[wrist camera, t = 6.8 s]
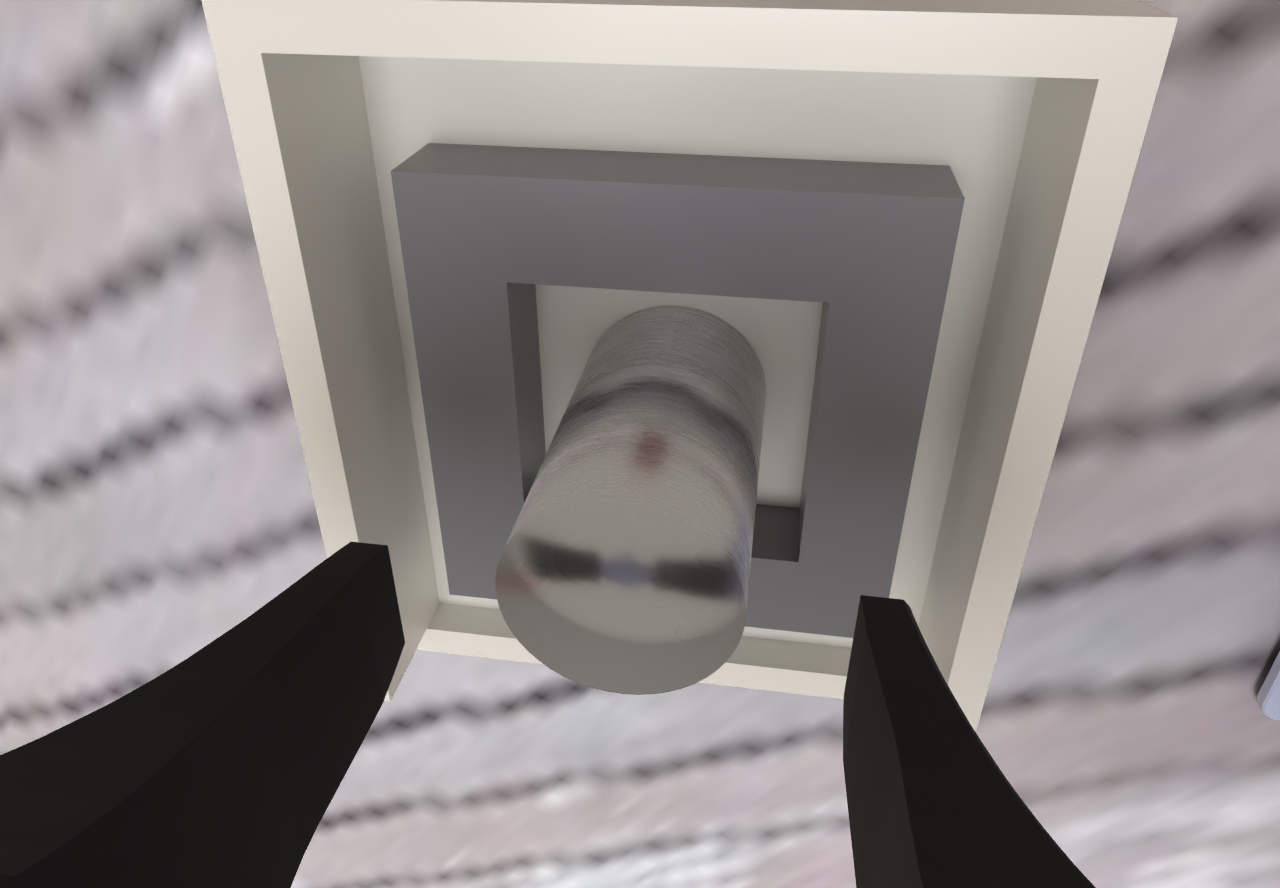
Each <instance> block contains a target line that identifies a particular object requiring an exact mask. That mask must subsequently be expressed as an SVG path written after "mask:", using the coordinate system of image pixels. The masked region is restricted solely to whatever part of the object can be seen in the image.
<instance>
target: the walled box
mask: <svg viewBox="0 0 1280 888" xmlns="http://www.w3.org/2000/svg"><path fill="white" fill-rule="evenodd" d="M202 5H203V9H204V13H205V18H206V22H207V27H208V31H209V36H210V40H211V44H212V49H213V53H214V58H215V62H216V67H217V71H218V76H219V80H220V84H221V89H222V93H223V98H224V102H225V107H226V111H227V116H228V120H229V124H230V129H231V133H232V138H233V142H234V147H235V151H236V156H237V160H238V164H239V169H240V173H241V178H242V182H243V187H244V191H245V196H246V200H247V204H248V209H249V213H250V218H251V222H252V227H253V231H254V236H255V240H256V244H257V249H258V253H259V258H260V262H261V267H262V271H263V276H264V280H265V284H266V289H267V293H268V298H269V302H270V307H271V311H272V316H273V320H274V324H275V329H276V333H277V338H278V342H279V347H280V351H281V356H282V360H283V364H284V369H285V373H286V378H287V382H288V387H289V391H290V395H291V400H292V404H293V409H294V413H295V418H296V422H297V427H298V431H299V435H300V440H301V444H302V449H303V453H304V458H305V462H306V467H307V471H308V475H309V480H310V484H311V489H312V493H313V498H314V502H315V507H316V511H317V515H318V520H319V524H320V529H321V533H322V538H323V542H324V547H325V551H326V555H327V558H329V557H330V556H331V555H333V554H334V553H335V552H337V551H338V550H339V549H341V548H342V547H344V546H345V545H347V544H348V543H350V542H360V543H370V544H379V545H388V549H389V555H390V560H391V566H392V571H393V577H394V583H395V588H396V594H397V599H398V605H399V611H400V616H401V622H402V627H403V633H404V639H405V645H404V648H403V651H402V653H401V656H400V659H399V662H398V665H397V667H396V670H395V673H394V676H393V678H392V681H391V684H390V686H389V689H388V691H387V694H386V696H385V699H384V701H391V699H392V697H393V695H394V693H395V691H396V689H397V687H398V685H399V683H400V681H401V679H402V677H403V675H404V673H405V671H406V669H407V667H408V665H409V663H410V661H411V659H412V657H413V655H414V653H415V651H416V650H425V651H433V652H442V653H451V654H459V655H468V656H476V657H485V658H494V659H502V660H511V661H519V662H528V663H536V664H543V663H541V662H540V661H539V660H537V659H536V658H535V657H534V656H533V655H532V654H530V653H529V652H528V651H527V650H526V649H525V648H524V647H523V646H522V645H521V643H520V642H519V641H518V640H517V639H516V637H515V636H514V635H513V633H512V632H511V631H510V629H509V627H508V625H507V624H506V622H505V620H504V618H503V616H502V613H501V611H500V608H499V605H498V600H497V596H496V586H495V579H496V570H497V566H498V563H499V559H500V557H501V554H502V552H503V550H504V548H505V545H506V543H507V541H508V539H509V536H510V534H511V532H512V530H513V527H514V525H515V523H516V521H517V518H518V516H519V514H520V512H521V509H522V507H523V505H524V503H525V500H526V498H527V496H528V494H529V491H530V489H531V487H532V485H533V482H534V480H535V478H536V476H537V473H538V471H539V469H540V467H541V464H542V462H543V460H544V458H545V455H546V453H547V451H548V449H549V446H550V444H551V442H552V440H553V437H554V435H555V433H556V431H557V428H558V426H559V424H560V422H561V419H562V417H563V415H564V413H565V410H566V408H567V406H568V404H569V401H570V399H571V397H572V395H573V392H574V390H575V388H576V386H577V383H578V381H579V379H580V377H581V374H582V372H583V370H584V368H585V365H586V363H587V361H588V359H589V356H590V354H591V352H592V350H593V348H594V346H595V344H596V343H597V341H598V340H599V339H600V337H601V336H602V335H603V334H604V333H605V332H606V331H607V329H608V328H610V327H611V326H612V325H613V324H615V323H616V322H617V321H619V320H621V319H622V318H624V317H626V316H627V315H630V314H632V313H634V312H637V311H640V310H643V309H647V308H652V307H658V306H681V307H688V308H693V309H697V310H700V311H703V312H706V313H709V314H711V315H713V316H715V317H717V318H719V319H721V320H723V321H724V322H726V323H727V324H729V325H730V326H732V327H733V328H734V329H735V330H737V331H738V332H739V333H740V334H741V335H742V336H743V337H744V338H745V339H746V340H747V342H748V343H749V344H750V346H751V347H752V348H753V350H754V351H755V353H756V355H757V357H758V359H759V361H760V363H761V366H762V369H763V372H764V377H765V382H766V401H765V412H764V423H763V434H762V445H761V456H760V467H759V478H758V489H757V500H756V511H755V522H754V533H753V544H752V555H751V566H750V577H749V588H748V599H747V610H746V619H745V627H744V631H743V634H742V637H741V640H740V642H739V644H738V646H737V648H736V650H735V651H734V653H733V654H732V655H731V657H730V658H729V659H728V660H727V661H726V662H725V663H724V664H723V665H722V666H721V667H720V668H719V669H718V670H717V671H715V672H714V673H712V674H711V675H710V676H708V677H707V678H705V679H703V680H701V681H699V683H708V684H716V685H725V686H734V687H742V688H751V689H759V690H768V691H776V692H785V693H794V694H802V695H811V696H819V697H828V698H836V699H844V691H845V685H846V679H847V673H848V667H849V661H850V655H851V649H852V643H853V637H854V631H855V625H856V619H857V613H858V607H859V601H860V595H864V596H874V597H883V598H893V599H902V600H904V601H905V602H906V603H907V604H908V605H909V606H910V608H911V610H912V613H913V615H914V618H915V620H916V622H917V625H918V627H919V629H920V631H921V634H922V636H923V638H924V640H925V642H926V644H927V646H928V648H929V650H930V652H931V654H932V656H933V658H934V660H935V662H936V664H937V666H938V668H939V670H940V672H941V674H942V676H943V677H944V679H945V681H946V683H947V685H948V687H949V688H950V690H951V692H952V693H953V695H954V697H955V699H956V700H957V702H958V704H959V705H960V707H961V709H962V711H963V712H964V714H965V716H966V718H967V719H968V721H969V723H970V724H971V726H972V727H973V729H974V731H975V732H976V730H977V726H978V722H979V719H980V715H981V712H982V708H983V705H984V701H985V698H986V694H987V691H988V687H989V684H990V680H991V677H992V673H993V670H994V666H995V662H996V659H997V655H998V652H999V648H1000V645H1001V641H1002V638H1003V634H1004V631H1005V627H1006V624H1007V620H1008V617H1009V613H1010V610H1011V606H1012V602H1013V599H1014V595H1015V592H1016V588H1017V585H1018V581H1019V578H1020V574H1021V571H1022V567H1023V564H1024V560H1025V557H1026V553H1027V550H1028V546H1029V542H1030V539H1031V535H1032V532H1033V528H1034V525H1035V521H1036V518H1037V514H1038V511H1039V507H1040V504H1041V500H1042V497H1043V493H1044V489H1045V486H1046V482H1047V479H1048V475H1049V472H1050V468H1051V465H1052V461H1053V458H1054V454H1055V451H1056V447H1057V444H1058V440H1059V437H1060V433H1061V429H1062V426H1063V422H1064V419H1065V415H1066V412H1067V408H1068V405H1069V401H1070V398H1071V394H1072V391H1073V387H1074V384H1075V380H1076V377H1077V373H1078V369H1079V366H1080V362H1081V359H1082V355H1083V352H1084V348H1085V345H1086V341H1087V338H1088V334H1089V331H1090V327H1091V324H1092V320H1093V317H1094V313H1095V309H1096V306H1097V302H1098V299H1099V295H1100V292H1101V288H1102V285H1103V281H1104V278H1105V274H1106V271H1107V267H1108V264H1109V260H1110V257H1111V253H1112V249H1113V246H1114V242H1115V239H1116V235H1117V232H1118V228H1119V225H1120V221H1121V218H1122V214H1123V211H1124V207H1125V204H1126V200H1127V197H1128V193H1129V189H1130V186H1131V182H1132V179H1133V175H1134V172H1135V168H1136V165H1137V161H1138V158H1139V154H1140V151H1141V147H1142V144H1143V140H1144V137H1145V133H1146V129H1147V126H1148V122H1149V119H1150V115H1151V112H1152V108H1153V105H1154V101H1155V98H1156V94H1157V91H1158V87H1159V84H1160V80H1161V77H1162V73H1163V69H1164V66H1165V62H1166V59H1167V55H1168V52H1169V48H1170V45H1171V41H1172V38H1173V34H1174V31H1175V27H1176V24H1177V20H1178V17H1176V16H1173V15H1171V14H1169V13H1166V12H1164V11H1162V10H1159V9H1157V8H1155V7H1152V6H1150V5H1148V4H1145V3H1143V2H1141V1H1138V0H202Z"/></svg>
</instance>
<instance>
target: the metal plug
mask: <svg viewBox="0 0 1280 888" xmlns="http://www.w3.org/2000/svg"><path fill="white" fill-rule="evenodd" d="M765 401H766V382H765V377H764V372H763V369H762V366H761V363H760V361H759V359H758V357H757V355H756V353H755V351H754V350H753V348H752V347H751V346H750V344H749V343H748V342H747V340H746V339H745V338H744V337H743V336H742V335H741V334H740V333H739V332H738V331H737V330H735V329H734V328H733V327H732V326H730V325H729V324H727V323H726V322H724V321H723V320H721V319H719V318H717V317H715V316H713V315H711V314H709V313H706V312H703V311H700V310H697V309H693V308H688V307H681V306H658V307H652V308H647V309H643V310H640V311H637V312H634V313H632V314H630V315H627V316H626V317H624V318H622V319H621V320H619V321H617V322H616V323H615V324H613V325H612V326H611V327H610V328H608V329H607V331H606V332H605V333H604V334H603V335H602V336H601V337H600V339H599V340H598V341H597V343H596V344H595V346H594V348H593V350H592V352H591V354H590V356H589V359H588V361H587V363H586V365H585V368H584V370H583V372H582V374H581V377H580V379H579V381H578V383H577V386H576V388H575V390H574V392H573V395H572V397H571V399H570V401H569V404H568V406H567V408H566V410H565V413H564V415H563V417H562V419H561V422H560V424H559V426H558V428H557V431H556V433H555V435H554V437H553V440H552V442H551V444H550V446H549V449H548V451H547V453H546V455H545V458H544V460H543V462H542V464H541V467H540V469H539V471H538V473H537V476H536V478H535V480H534V482H533V485H532V487H531V489H530V491H529V494H528V496H527V498H526V500H525V503H524V505H523V507H522V509H521V512H520V514H519V516H518V518H517V521H516V523H515V525H514V527H513V530H512V532H511V534H510V536H509V539H508V541H507V543H506V545H505V548H504V550H503V552H502V554H501V557H500V559H499V563H498V566H497V570H496V579H495V586H496V596H497V600H498V605H499V608H500V611H501V613H502V616H503V618H504V620H505V622H506V624H507V625H508V627H509V629H510V631H511V632H512V633H513V635H514V636H515V637H516V639H517V640H518V641H519V642H520V643H521V645H522V646H523V647H524V648H525V649H526V650H527V651H528V652H529V653H530V654H532V655H533V656H534V657H535V658H536V659H537V660H539V661H540V662H541V663H543V664H544V665H546V666H547V667H549V668H550V669H551V670H553V671H555V672H557V673H559V674H560V675H562V676H564V677H566V678H568V679H571V680H573V681H575V682H577V683H580V684H583V685H586V686H589V687H592V688H596V689H600V690H604V691H608V692H615V693H621V694H637V695H641V694H657V693H664V692H670V691H674V690H678V689H682V688H685V687H687V686H690V685H693V684H695V683H697V682H699V681H701V680H703V679H705V678H707V677H708V676H710V675H711V674H712V673H714V672H715V671H717V670H718V669H719V668H720V667H721V666H722V665H723V664H724V663H725V662H726V661H727V660H728V659H729V658H730V657H731V655H732V654H733V653H734V651H735V650H736V648H737V646H738V644H739V642H740V640H741V637H742V634H743V631H744V627H745V619H746V610H747V599H748V588H749V577H750V566H751V555H752V544H753V533H754V522H755V511H756V500H757V489H758V478H759V467H760V456H761V445H762V434H763V423H764V412H765Z"/></svg>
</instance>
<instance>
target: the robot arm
mask: <svg viewBox="0 0 1280 888" xmlns="http://www.w3.org/2000/svg"><path fill="white" fill-rule="evenodd" d="M404 645H405V639H404V633H403V627H402V622H401V616H400V611H399V605H398V599H397V594H396V588H395V583H394V577H393V571H392V566H391V560H390V555H389V549H388V545H379V544H370V543H360V542H350V543H348V544H347V545H345V546H344V547H342V548H341V549H339V550H338V551H337V552H335V553H334V554H333V555H331V556H330V557H329V558H327V559H326V560H325V561H323V562H322V563H321V564H319V565H318V566H317V567H315V568H314V569H313V570H311V571H310V572H309V573H307V574H306V575H305V576H303V577H302V578H301V579H299V580H298V581H297V582H295V583H294V584H293V585H291V586H290V587H289V588H288V589H286V590H285V591H283V592H282V593H281V594H279V595H278V596H277V597H275V598H274V599H273V600H271V601H270V602H268V603H267V604H266V605H264V606H263V607H262V608H260V609H259V610H258V611H256V612H255V613H253V614H252V615H251V616H249V617H248V618H247V619H245V620H244V621H242V622H241V623H240V624H238V625H237V626H235V627H234V628H232V629H231V630H229V631H228V632H226V633H225V634H223V635H222V636H220V637H219V638H217V639H216V640H214V641H213V642H211V643H210V644H208V645H207V646H205V647H204V648H202V649H201V650H199V651H198V652H196V653H195V654H193V655H192V656H190V657H189V658H187V659H186V660H184V661H183V662H181V663H180V664H178V665H176V666H175V667H173V668H172V669H170V670H168V671H167V672H165V673H163V674H162V675H160V676H158V677H157V678H155V679H153V680H151V681H150V682H148V683H146V684H144V685H143V686H141V687H139V688H137V689H136V690H134V691H132V692H130V693H128V694H127V695H125V696H123V697H121V698H120V699H118V700H116V701H114V702H112V703H110V704H108V705H106V706H105V707H102V708H100V709H98V710H96V711H94V712H92V713H90V714H88V715H86V716H84V717H82V718H80V719H78V720H76V721H74V722H72V723H70V724H68V725H66V726H64V727H62V728H60V729H58V730H56V731H54V732H52V733H50V734H48V735H46V736H43V737H41V738H39V739H37V740H35V741H32V742H30V743H28V744H26V745H23V746H21V747H19V748H16V749H14V750H12V751H9V752H7V753H5V754H3V755H0V888H290V887H291V885H292V882H293V880H294V877H295V875H296V872H297V870H298V868H299V865H300V863H301V860H302V858H303V855H304V853H305V851H306V849H307V847H308V845H309V843H310V841H311V839H312V837H313V834H314V832H315V830H316V828H317V826H318V824H319V822H320V821H321V819H322V817H323V815H324V813H325V811H326V809H327V807H328V806H329V804H330V802H331V800H332V798H333V796H334V794H335V792H336V791H337V789H338V787H339V785H340V783H341V781H342V779H343V778H344V776H345V774H346V772H347V770H348V768H349V766H350V764H351V763H352V761H353V759H354V757H355V755H356V753H357V751H358V750H359V748H360V746H361V744H362V742H363V740H364V738H365V736H366V734H367V732H368V731H369V729H370V727H371V725H372V723H373V721H374V719H375V717H376V715H377V713H378V711H379V709H380V707H381V705H382V703H383V701H384V699H385V696H386V694H387V691H388V689H389V686H390V684H391V681H392V678H393V676H394V673H395V670H396V667H397V665H398V662H399V659H400V656H401V653H402V651H403V648H404ZM1257 702H1258V704H1259V706H1260V708H1261V710H1262V712H1263V714H1264V715H1265V716H1266V717H1268V718H1269V719H1273V720H1277V721H1280V651H1279V653H1278V655H1277V657H1276V659H1275V661H1274V663H1273V665H1272V667H1271V669H1270V671H1269V673H1268V675H1267V677H1266V679H1265V681H1264V683H1263V685H1262V687H1261V689H1260V691H1259V693H1258V696H1257ZM843 763H844V773H845V783H846V792H847V802H848V812H849V821H850V830H851V840H852V849H853V858H854V868H855V877H856V886H857V888H1095V886H1094V885H1093V884H1092V883H1091V882H1090V881H1089V880H1088V879H1087V878H1086V877H1085V876H1084V875H1083V874H1082V872H1081V871H1080V870H1079V869H1078V868H1077V867H1076V866H1075V865H1074V864H1073V863H1072V861H1071V860H1070V859H1069V858H1068V857H1067V856H1066V854H1065V853H1064V852H1063V851H1062V850H1061V848H1060V847H1059V846H1058V845H1057V844H1056V842H1055V841H1054V840H1053V839H1052V838H1051V836H1050V835H1049V834H1048V833H1047V832H1046V830H1045V829H1044V828H1043V827H1042V825H1041V824H1040V823H1039V821H1038V820H1037V819H1036V818H1035V816H1034V815H1033V814H1032V812H1031V811H1030V810H1029V809H1028V807H1027V806H1026V805H1025V803H1024V802H1023V801H1022V799H1021V798H1020V797H1019V795H1018V794H1017V793H1016V791H1015V790H1014V789H1013V787H1012V786H1011V784H1010V783H1009V782H1008V780H1007V779H1006V777H1005V776H1004V775H1003V773H1002V772H1001V770H1000V769H999V767H998V766H997V764H996V763H995V761H994V760H993V758H992V757H991V755H990V754H989V752H988V751H987V749H986V748H985V746H984V745H983V743H982V742H981V740H980V739H979V737H978V735H977V734H976V732H975V731H974V729H973V727H972V726H971V724H970V723H969V721H968V719H967V718H966V716H965V714H964V712H963V711H962V709H961V707H960V705H959V704H958V702H957V700H956V699H955V697H954V695H953V693H952V692H951V690H950V688H949V687H948V685H947V683H946V681H945V679H944V677H943V676H942V674H941V672H940V670H939V668H938V666H937V664H936V662H935V660H934V658H933V656H932V654H931V652H930V650H929V648H928V646H927V644H926V642H925V640H924V638H923V636H922V634H921V631H920V629H919V627H918V625H917V622H916V620H915V618H914V615H913V613H912V610H911V608H910V606H909V605H908V604H907V603H906V602H905V601H904V600H902V599H893V598H883V597H874V596H864V595H860V601H859V607H858V613H857V619H856V625H855V631H854V637H853V643H852V649H851V655H850V661H849V667H848V673H847V679H846V685H845V691H844V716H843Z"/></svg>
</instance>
